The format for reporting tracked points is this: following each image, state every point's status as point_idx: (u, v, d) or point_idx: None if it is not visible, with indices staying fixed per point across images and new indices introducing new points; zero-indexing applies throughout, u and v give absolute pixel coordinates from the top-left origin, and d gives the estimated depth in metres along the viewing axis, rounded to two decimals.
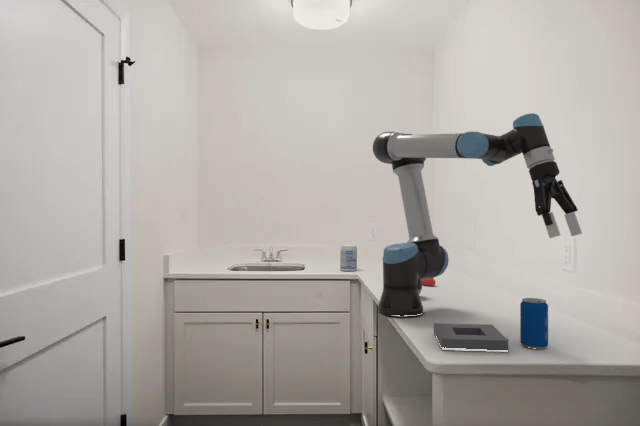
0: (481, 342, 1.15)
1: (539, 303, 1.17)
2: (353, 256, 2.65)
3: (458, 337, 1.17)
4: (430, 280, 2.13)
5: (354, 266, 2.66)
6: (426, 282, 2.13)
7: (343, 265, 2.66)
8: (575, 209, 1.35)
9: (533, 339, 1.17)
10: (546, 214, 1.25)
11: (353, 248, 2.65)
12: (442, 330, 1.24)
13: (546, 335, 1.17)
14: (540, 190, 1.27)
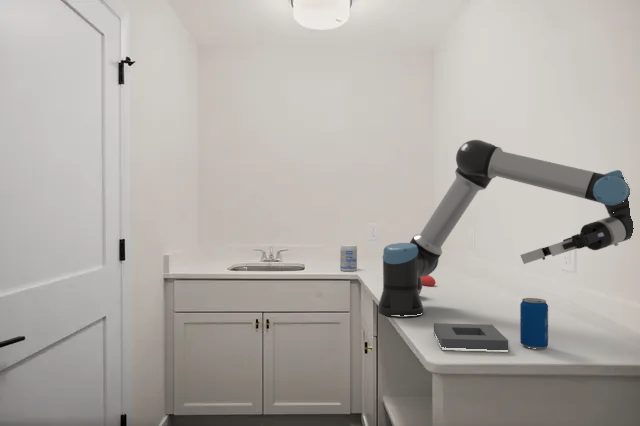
0: (481, 342, 1.15)
1: (539, 303, 1.17)
2: (353, 256, 2.65)
3: (458, 337, 1.17)
4: (430, 280, 2.13)
5: (354, 266, 2.66)
6: (426, 282, 2.14)
7: (343, 265, 2.66)
8: (544, 258, 1.34)
9: (533, 339, 1.17)
10: (576, 244, 1.19)
11: (353, 248, 2.65)
12: (442, 330, 1.24)
13: (546, 335, 1.17)
14: (596, 238, 1.21)
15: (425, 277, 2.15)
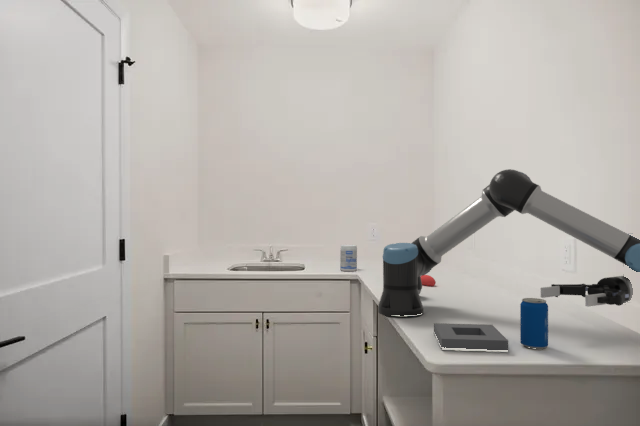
0: (481, 342, 1.15)
1: (539, 303, 1.17)
2: (353, 256, 2.65)
3: (458, 337, 1.17)
4: (430, 280, 2.13)
5: (354, 266, 2.66)
6: (426, 282, 2.14)
7: (343, 265, 2.66)
8: (557, 295, 1.33)
9: (533, 339, 1.17)
10: (609, 301, 1.18)
11: (353, 248, 2.65)
12: (442, 330, 1.24)
13: (546, 335, 1.17)
14: (624, 299, 1.21)
15: (425, 277, 2.15)
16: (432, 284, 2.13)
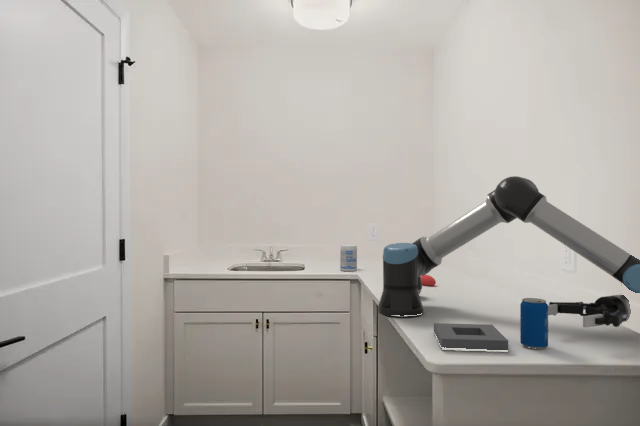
0: (481, 342, 1.15)
1: (539, 303, 1.17)
2: (353, 256, 2.65)
3: (458, 337, 1.17)
4: (430, 280, 2.13)
5: (354, 266, 2.66)
6: (426, 282, 2.14)
7: (343, 265, 2.66)
8: None
9: (533, 339, 1.17)
10: (606, 322, 1.18)
11: (353, 248, 2.65)
12: (442, 330, 1.24)
13: (546, 335, 1.17)
14: (621, 320, 1.21)
15: (425, 277, 2.15)
16: (432, 284, 2.13)
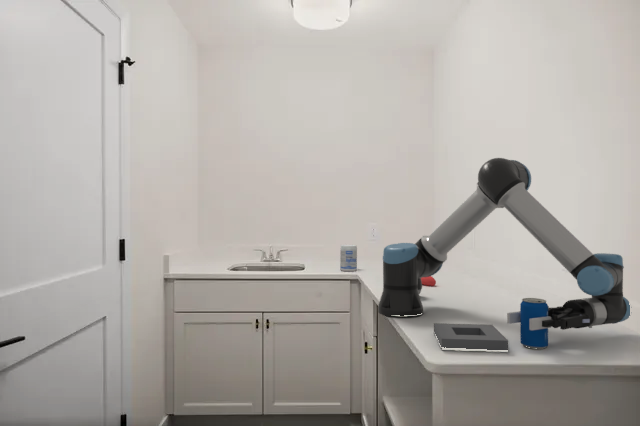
0: (481, 342, 1.15)
1: (539, 303, 1.17)
2: (353, 256, 2.65)
3: (458, 337, 1.17)
4: (431, 280, 2.13)
5: (354, 266, 2.66)
6: (427, 282, 2.14)
7: (343, 265, 2.66)
8: None
9: (533, 339, 1.17)
10: (554, 325, 1.15)
11: (353, 248, 2.65)
12: (442, 330, 1.24)
13: (546, 335, 1.17)
14: (579, 324, 1.17)
15: (425, 277, 2.15)
16: (432, 284, 2.13)
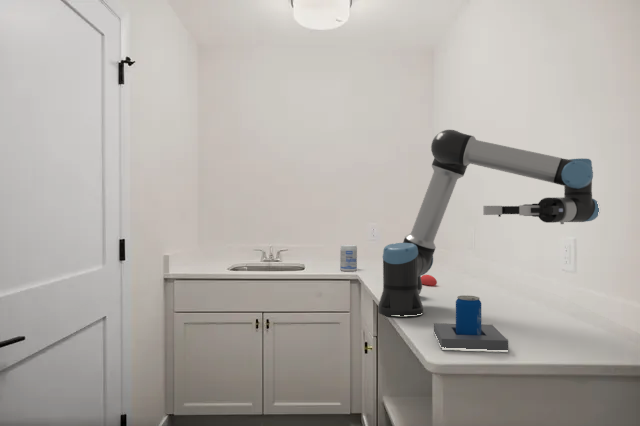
0: (481, 342, 1.15)
1: (472, 300, 1.21)
2: (353, 256, 2.65)
3: (458, 337, 1.17)
4: (432, 280, 2.13)
5: (354, 266, 2.66)
6: (428, 282, 2.14)
7: (343, 265, 2.66)
8: None
9: None
10: (541, 211, 1.27)
11: (353, 248, 2.65)
12: (442, 330, 1.24)
13: (479, 331, 1.21)
14: (557, 212, 1.30)
15: (426, 277, 2.15)
16: (433, 284, 2.13)
